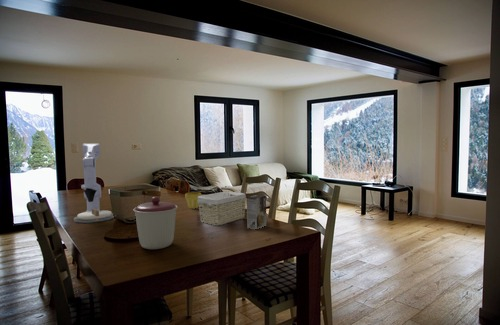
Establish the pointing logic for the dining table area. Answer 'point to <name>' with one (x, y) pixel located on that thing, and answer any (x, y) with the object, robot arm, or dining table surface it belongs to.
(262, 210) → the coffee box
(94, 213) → the dial
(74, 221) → the base
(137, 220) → the canister
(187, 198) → the plant pot
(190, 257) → the dining table surface
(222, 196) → the storage basket
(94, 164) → the robot arm
